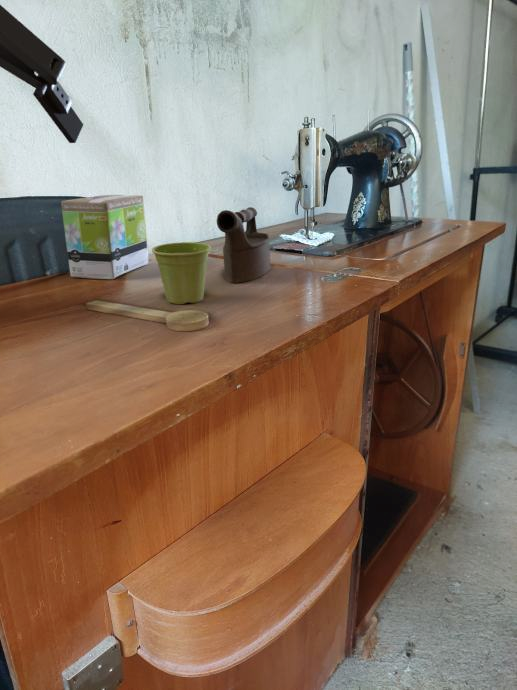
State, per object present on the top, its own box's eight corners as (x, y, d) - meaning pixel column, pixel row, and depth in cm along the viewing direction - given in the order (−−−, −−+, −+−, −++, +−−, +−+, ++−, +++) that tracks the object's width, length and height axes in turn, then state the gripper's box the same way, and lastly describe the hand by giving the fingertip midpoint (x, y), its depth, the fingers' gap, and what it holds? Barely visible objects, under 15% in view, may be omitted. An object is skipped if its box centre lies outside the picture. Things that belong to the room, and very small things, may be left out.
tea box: (115, 280, 99) (105, 200, 94) (69, 278, 102) (57, 200, 96) (150, 263, 113) (143, 193, 107) (109, 262, 115) (100, 193, 110)
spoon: (77, 312, 80) (76, 305, 80) (105, 302, 85) (104, 295, 85) (192, 333, 70) (191, 325, 70) (216, 321, 75) (216, 313, 74)
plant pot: (223, 295, 88) (221, 243, 85) (195, 310, 80) (191, 255, 77) (177, 290, 91) (173, 240, 88) (145, 304, 84) (139, 251, 80)
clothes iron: (206, 286, 93) (202, 210, 89) (235, 266, 108) (232, 200, 103) (248, 288, 91) (246, 210, 86) (272, 268, 106) (270, 200, 101)
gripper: (-269, -20, 44) (-68, 161, 62) (-42, -62, 36) (109, 159, 55) (-221, -75, 46) (-42, 115, 65) (0, -125, 39) (130, 106, 57)
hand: (27, 135), depth 60 cm, fingers open, 13 cm apart
